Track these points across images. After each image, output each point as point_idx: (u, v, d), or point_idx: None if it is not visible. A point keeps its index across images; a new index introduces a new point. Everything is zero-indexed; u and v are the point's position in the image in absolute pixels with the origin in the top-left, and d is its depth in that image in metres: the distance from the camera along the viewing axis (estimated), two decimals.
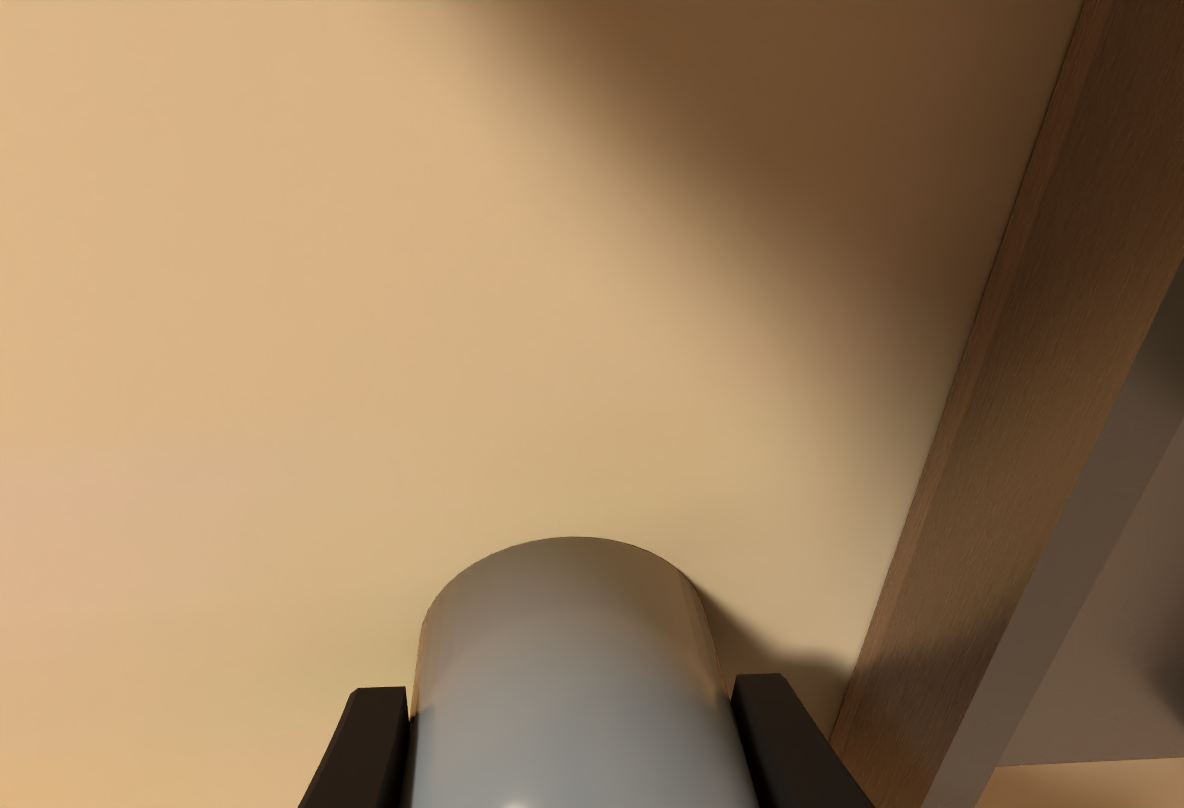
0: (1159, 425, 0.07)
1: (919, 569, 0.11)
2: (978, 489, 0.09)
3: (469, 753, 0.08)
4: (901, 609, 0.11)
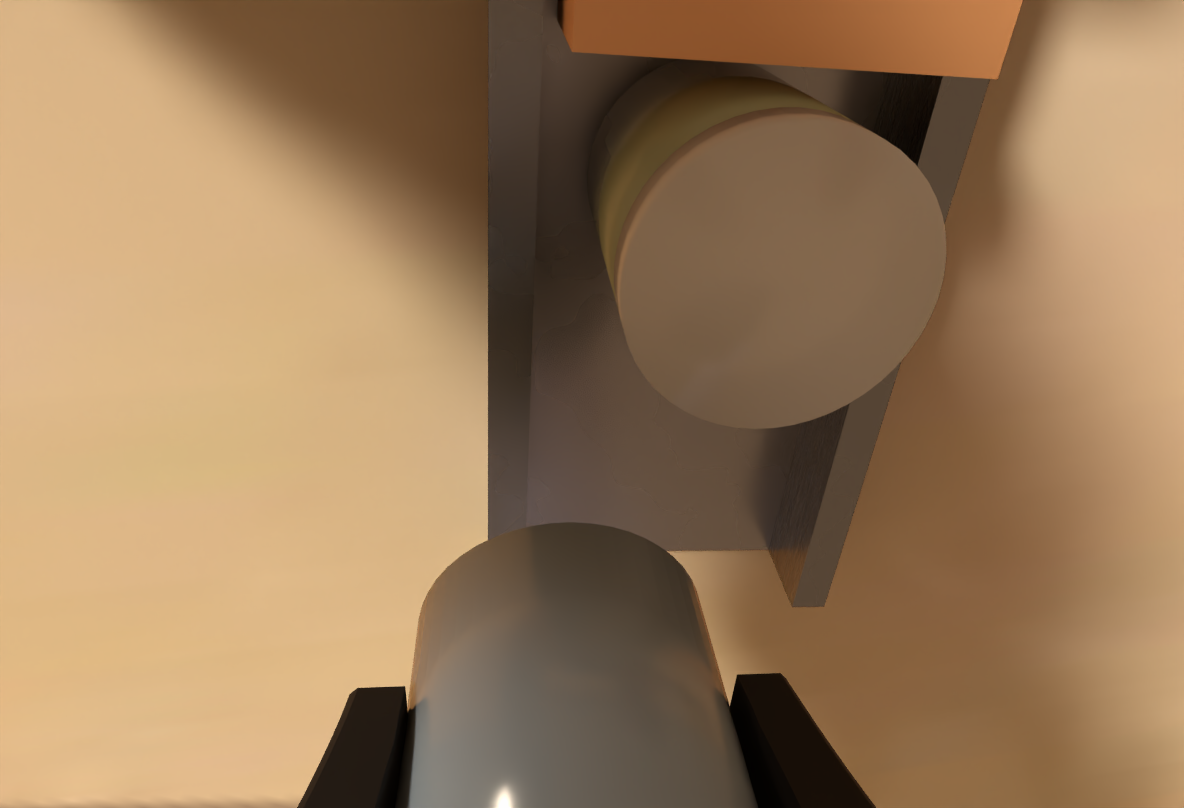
0: (522, 253, 0.13)
1: None
2: None
3: (472, 726, 0.09)
4: None
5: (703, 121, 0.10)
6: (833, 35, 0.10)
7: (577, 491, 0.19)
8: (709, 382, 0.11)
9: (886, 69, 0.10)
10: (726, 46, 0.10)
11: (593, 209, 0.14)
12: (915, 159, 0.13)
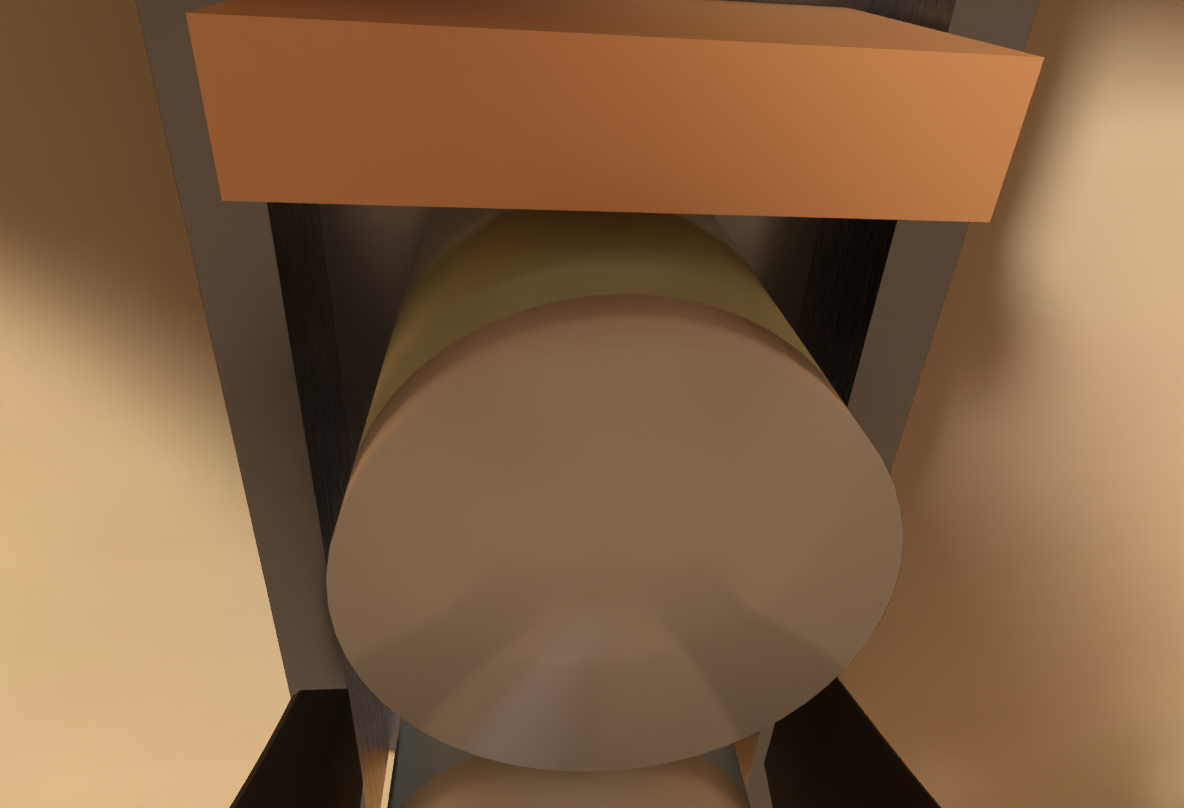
0: (287, 444, 0.09)
1: None
2: None
3: None
4: None
5: (474, 309, 0.06)
6: (696, 161, 0.06)
7: None
8: (516, 720, 0.07)
9: (794, 212, 0.06)
10: (503, 184, 0.06)
11: None
12: (870, 299, 0.09)
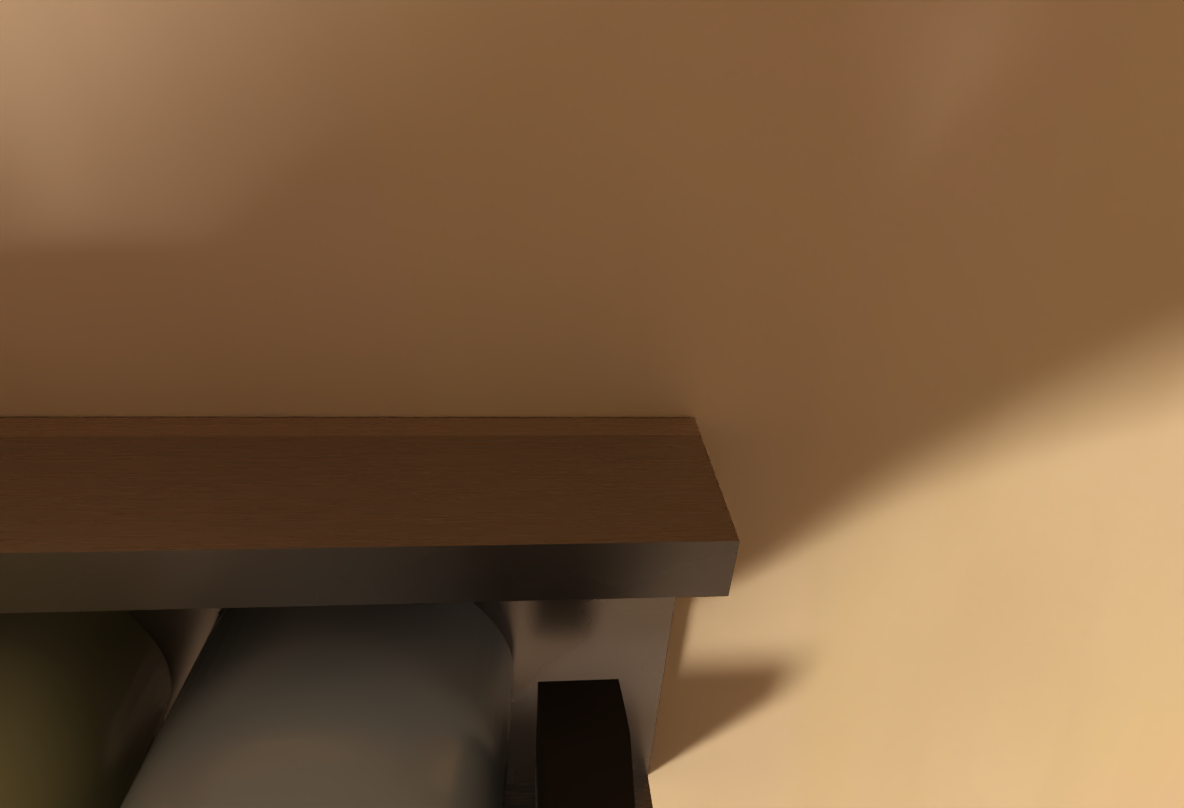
0: None
1: None
2: None
3: None
4: None
5: None
6: None
7: None
8: None
9: None
10: None
11: None
12: None
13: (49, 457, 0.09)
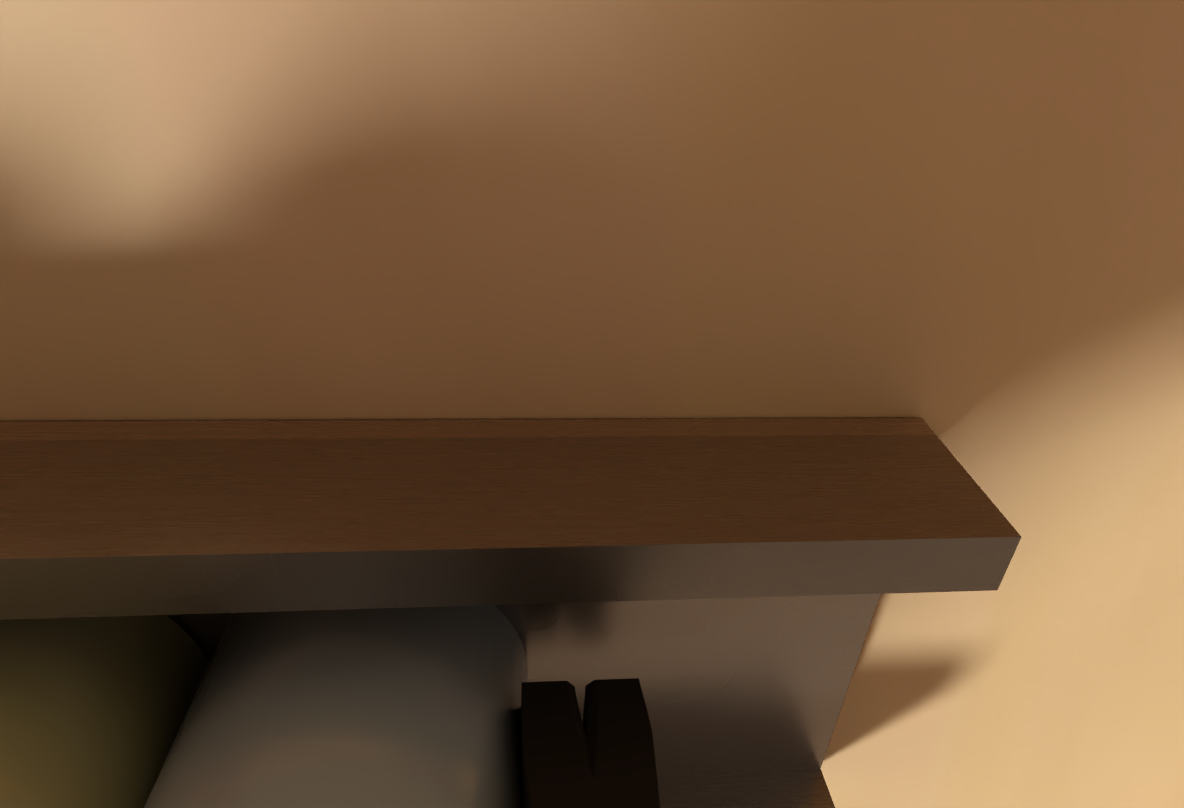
0: None
1: None
2: None
3: None
4: None
5: None
6: None
7: (726, 728, 0.13)
8: None
9: None
10: None
11: None
12: (15, 611, 0.08)
13: (334, 459, 0.09)
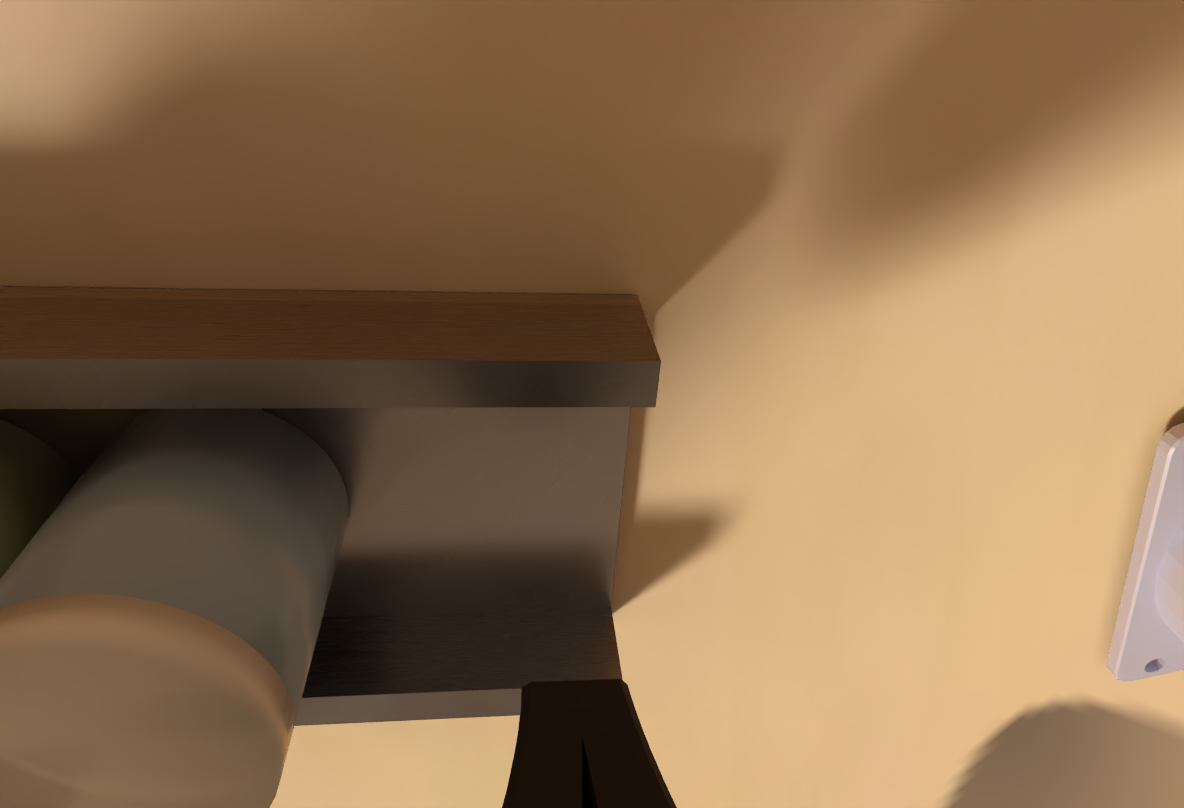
0: None
1: None
2: None
3: None
4: None
5: None
6: None
7: (523, 566, 0.16)
8: None
9: None
10: None
11: None
12: None
13: (160, 310, 0.12)
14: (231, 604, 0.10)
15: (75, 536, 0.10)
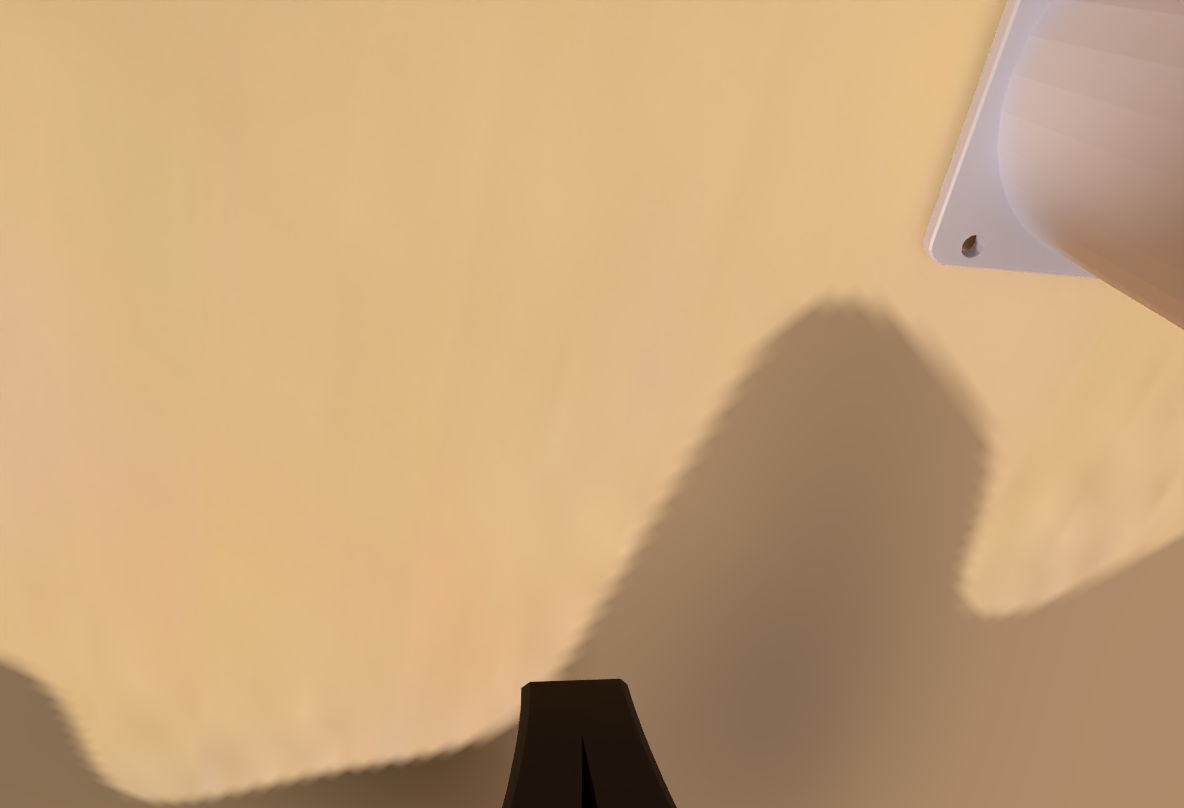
0: None
1: None
2: None
3: None
4: None
5: None
6: None
7: None
8: None
9: None
10: None
11: None
12: None
13: None
14: None
15: None
